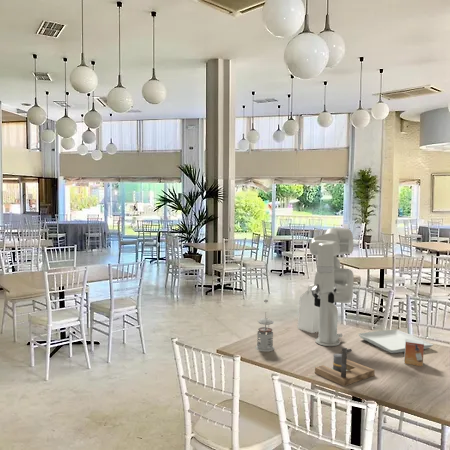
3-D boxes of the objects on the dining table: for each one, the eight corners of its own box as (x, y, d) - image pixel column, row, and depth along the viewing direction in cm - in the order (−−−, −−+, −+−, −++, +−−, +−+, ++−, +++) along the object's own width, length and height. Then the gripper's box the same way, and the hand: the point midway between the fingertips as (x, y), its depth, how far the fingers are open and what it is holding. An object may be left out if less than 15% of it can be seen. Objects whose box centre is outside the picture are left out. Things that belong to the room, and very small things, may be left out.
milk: (310, 324, 268) (311, 282, 267) (325, 329, 260) (327, 285, 258) (297, 328, 261) (298, 284, 259) (312, 333, 252) (314, 287, 250)
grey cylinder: (338, 368, 200) (338, 352, 200) (348, 372, 196) (348, 356, 195) (330, 370, 197) (330, 355, 197) (339, 374, 193) (340, 358, 192)
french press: (253, 350, 222) (254, 300, 221) (257, 343, 233) (258, 295, 232) (273, 352, 220) (274, 302, 218) (276, 344, 231) (277, 297, 229)
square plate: (356, 339, 243) (356, 332, 243) (396, 335, 253) (396, 328, 252) (391, 356, 218) (391, 349, 217) (434, 351, 227) (434, 343, 227)
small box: (404, 363, 208) (405, 341, 207) (404, 359, 213) (405, 338, 212) (423, 366, 205) (424, 344, 204) (422, 362, 210) (423, 340, 209)
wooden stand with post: (345, 363, 206) (346, 333, 205) (374, 375, 193) (375, 342, 192) (314, 373, 195) (316, 340, 194) (344, 386, 182) (345, 351, 181)
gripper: (330, 265, 218) (329, 299, 220) (306, 270, 208) (305, 305, 210) (343, 268, 212) (342, 303, 214) (318, 272, 202) (318, 309, 204)
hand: (324, 304), depth 212 cm, fingers open, 9 cm apart
